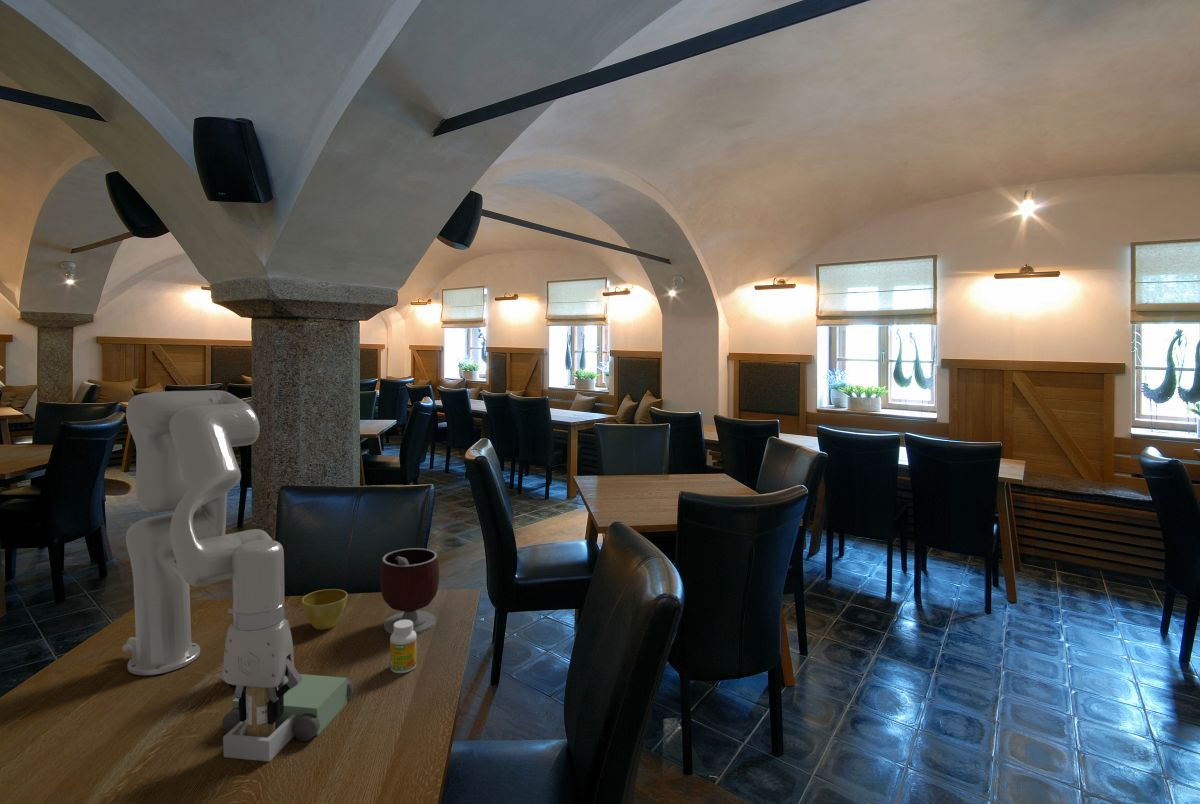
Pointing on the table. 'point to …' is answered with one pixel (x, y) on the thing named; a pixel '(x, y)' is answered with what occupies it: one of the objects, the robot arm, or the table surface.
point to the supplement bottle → (403, 647)
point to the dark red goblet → (410, 586)
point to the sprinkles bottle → (258, 712)
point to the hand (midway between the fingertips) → (261, 717)
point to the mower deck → (289, 717)
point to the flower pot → (324, 607)
